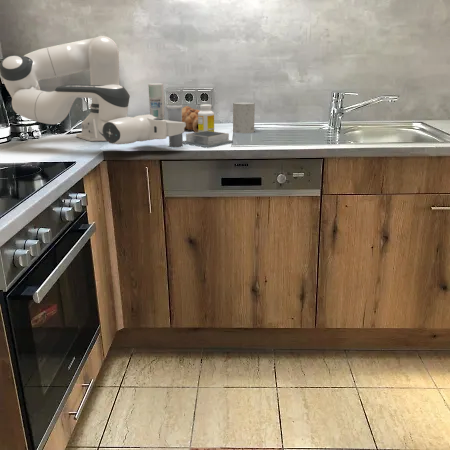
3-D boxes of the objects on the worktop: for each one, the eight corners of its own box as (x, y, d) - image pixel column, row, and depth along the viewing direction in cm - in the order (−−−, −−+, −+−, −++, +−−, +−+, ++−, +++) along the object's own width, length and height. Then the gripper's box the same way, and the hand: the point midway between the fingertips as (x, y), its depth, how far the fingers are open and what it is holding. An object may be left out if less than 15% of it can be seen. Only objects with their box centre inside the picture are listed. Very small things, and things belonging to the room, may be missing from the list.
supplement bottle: (215, 135, 211) (215, 104, 207) (213, 137, 205) (212, 105, 201) (199, 134, 212) (199, 103, 208) (197, 137, 206) (196, 105, 201)
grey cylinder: (238, 133, 215) (238, 104, 211) (229, 130, 223) (229, 102, 219) (258, 132, 218) (258, 103, 214) (248, 129, 226) (248, 101, 222)
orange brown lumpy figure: (209, 136, 230) (179, 126, 230) (216, 114, 227) (185, 103, 227) (203, 142, 212) (169, 131, 213) (210, 118, 209) (176, 106, 209)
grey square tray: (181, 143, 192) (181, 134, 191) (206, 138, 202) (206, 129, 201) (208, 147, 183) (208, 138, 182) (233, 142, 193) (233, 133, 192)
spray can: (148, 130, 223) (146, 84, 217) (152, 128, 230) (150, 83, 223) (163, 130, 223) (161, 84, 216) (166, 128, 229) (164, 83, 222)
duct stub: (165, 146, 187) (164, 105, 182) (176, 144, 191) (175, 104, 186) (175, 147, 184) (174, 106, 179) (186, 145, 188) (185, 105, 183)
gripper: (128, 133, 182) (157, 129, 192) (166, 139, 169) (195, 134, 179) (127, 115, 180) (156, 112, 190) (165, 120, 167) (194, 116, 177)
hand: (175, 123), depth 184 cm, fingers open, 8 cm apart
